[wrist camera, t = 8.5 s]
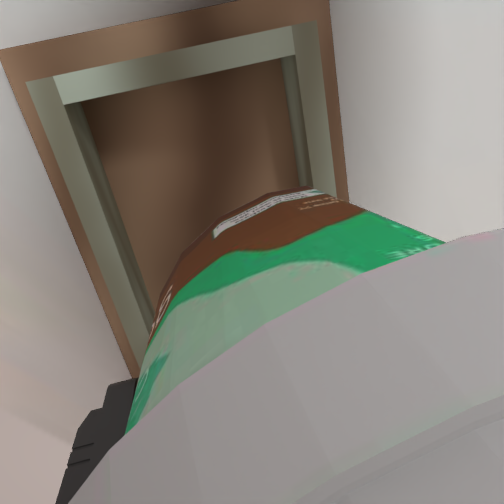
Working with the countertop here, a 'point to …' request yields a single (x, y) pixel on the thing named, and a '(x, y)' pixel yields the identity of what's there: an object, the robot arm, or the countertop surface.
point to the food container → (318, 366)
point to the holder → (177, 134)
